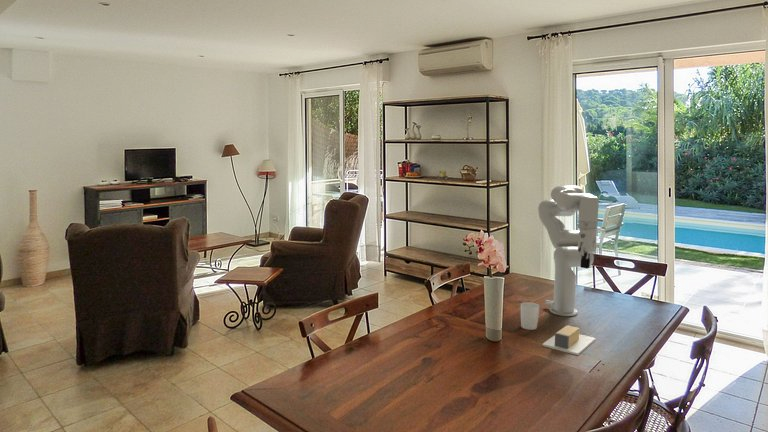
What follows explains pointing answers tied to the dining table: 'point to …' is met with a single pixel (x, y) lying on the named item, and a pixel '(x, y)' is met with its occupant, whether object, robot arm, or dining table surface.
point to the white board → (575, 348)
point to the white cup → (529, 315)
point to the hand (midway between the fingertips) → (585, 267)
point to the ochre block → (566, 336)
